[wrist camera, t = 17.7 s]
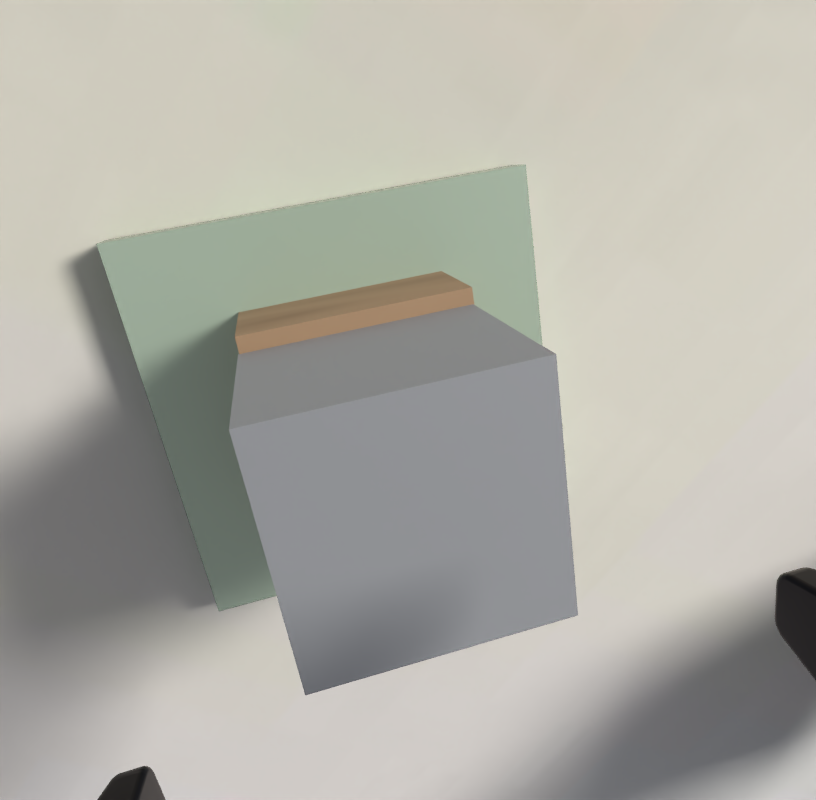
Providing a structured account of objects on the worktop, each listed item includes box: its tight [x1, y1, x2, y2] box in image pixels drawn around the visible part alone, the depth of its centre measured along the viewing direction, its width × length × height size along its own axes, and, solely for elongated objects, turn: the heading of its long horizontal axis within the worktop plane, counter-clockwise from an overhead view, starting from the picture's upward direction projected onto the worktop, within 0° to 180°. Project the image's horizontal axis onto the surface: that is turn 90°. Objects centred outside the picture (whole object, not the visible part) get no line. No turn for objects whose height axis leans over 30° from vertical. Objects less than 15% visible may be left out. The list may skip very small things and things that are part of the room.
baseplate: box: [97, 165, 542, 611], centre depth 20 cm, size 12×12×1 cm
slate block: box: [229, 304, 578, 695], centre depth 15 cm, size 6×6×5 cm
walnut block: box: [235, 271, 474, 354], centre depth 19 cm, size 7×6×3 cm
